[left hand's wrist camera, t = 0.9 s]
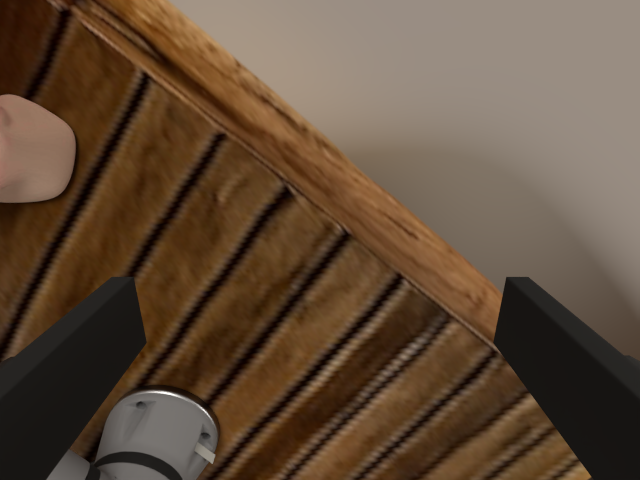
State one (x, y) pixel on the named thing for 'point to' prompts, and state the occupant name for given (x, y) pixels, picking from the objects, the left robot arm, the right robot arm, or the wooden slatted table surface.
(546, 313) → the left robot arm
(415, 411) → the wooden slatted table surface
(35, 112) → the anatomical model
